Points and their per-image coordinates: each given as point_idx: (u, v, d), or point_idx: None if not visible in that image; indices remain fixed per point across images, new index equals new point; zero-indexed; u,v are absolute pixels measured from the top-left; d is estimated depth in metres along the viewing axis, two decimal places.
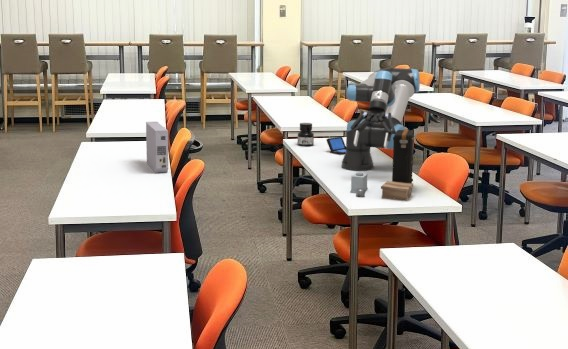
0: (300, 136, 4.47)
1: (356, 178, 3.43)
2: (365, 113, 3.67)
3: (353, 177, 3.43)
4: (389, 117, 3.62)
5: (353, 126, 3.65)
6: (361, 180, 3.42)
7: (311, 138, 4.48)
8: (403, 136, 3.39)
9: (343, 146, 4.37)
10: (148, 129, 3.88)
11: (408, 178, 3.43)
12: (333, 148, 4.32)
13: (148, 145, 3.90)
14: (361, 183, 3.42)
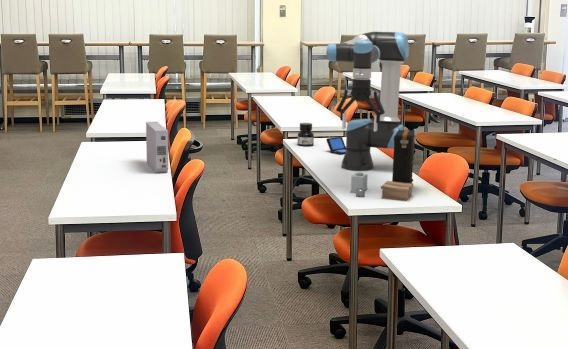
0: (300, 136, 4.47)
1: (356, 178, 3.43)
2: (349, 91, 3.41)
3: (353, 177, 3.43)
4: (375, 97, 3.36)
5: (339, 108, 3.43)
6: (361, 180, 3.42)
7: (311, 138, 4.48)
8: (404, 136, 3.39)
9: (343, 146, 4.37)
10: (148, 129, 3.88)
11: (408, 178, 3.43)
12: (333, 148, 4.32)
13: (148, 145, 3.90)
14: (361, 183, 3.42)
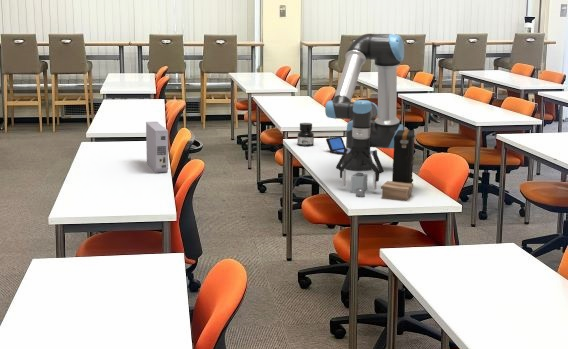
0: (300, 136, 4.47)
1: (356, 178, 3.43)
2: (348, 150, 3.44)
3: (353, 177, 3.43)
4: (374, 156, 3.40)
5: (338, 166, 3.47)
6: (361, 180, 3.42)
7: (311, 138, 4.48)
8: (404, 136, 3.39)
9: (342, 146, 4.37)
10: (148, 129, 3.88)
11: (408, 178, 3.43)
12: (333, 148, 4.32)
13: (148, 145, 3.90)
14: (361, 183, 3.42)
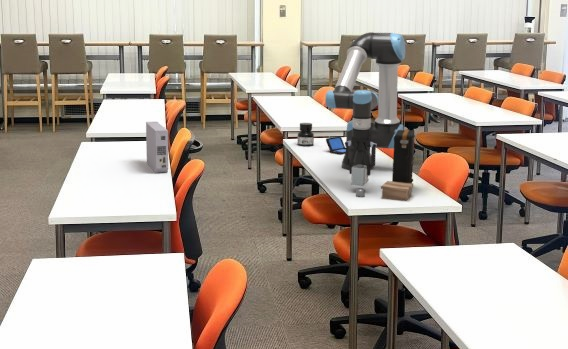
0: (300, 136, 4.47)
1: (357, 170, 3.42)
2: (349, 142, 3.44)
3: (354, 169, 3.43)
4: (372, 149, 3.40)
5: (347, 161, 3.45)
6: (362, 172, 3.42)
7: (311, 138, 4.48)
8: (404, 136, 3.39)
9: (342, 146, 4.38)
10: (148, 129, 3.88)
11: (408, 178, 3.43)
12: (332, 148, 4.32)
13: (148, 145, 3.90)
14: (362, 175, 3.42)
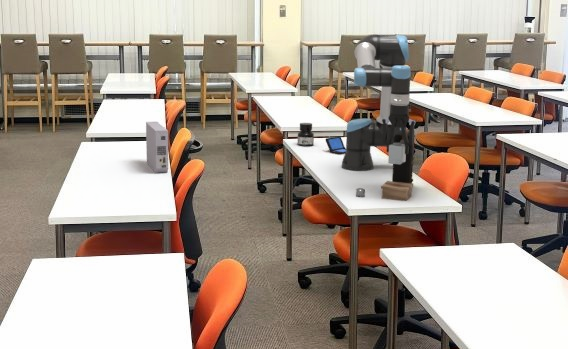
0: (300, 136, 4.47)
1: (394, 148, 3.31)
2: (387, 119, 3.33)
3: (391, 147, 3.31)
4: (411, 126, 3.29)
5: (384, 139, 3.34)
6: (400, 150, 3.30)
7: (311, 138, 4.48)
8: None
9: (342, 146, 4.38)
10: (148, 129, 3.88)
11: (408, 178, 3.43)
12: (332, 148, 4.32)
13: (148, 145, 3.90)
14: (400, 153, 3.31)
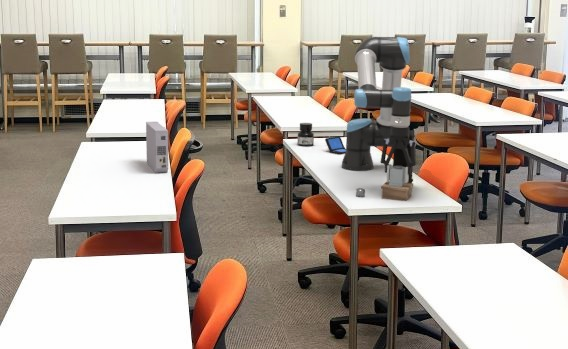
0: (300, 136, 4.47)
1: (395, 171, 3.33)
2: (387, 140, 3.35)
3: (392, 170, 3.33)
4: (412, 147, 3.31)
5: (383, 160, 3.36)
6: (400, 173, 3.32)
7: (311, 138, 4.48)
8: None
9: (341, 146, 4.38)
10: (148, 129, 3.88)
11: None
12: (332, 148, 4.32)
13: (148, 145, 3.90)
14: (400, 176, 3.33)
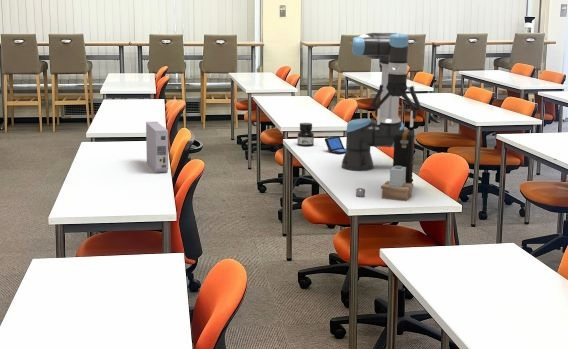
0: (300, 136, 4.47)
1: (395, 171, 3.33)
2: (384, 86, 3.32)
3: (392, 170, 3.33)
4: (411, 92, 3.28)
5: (373, 104, 3.34)
6: (400, 173, 3.32)
7: (311, 138, 4.48)
8: (404, 136, 3.39)
9: (341, 146, 4.38)
10: (148, 129, 3.88)
11: (408, 178, 3.43)
12: (331, 148, 4.32)
13: (148, 145, 3.90)
14: (400, 176, 3.33)
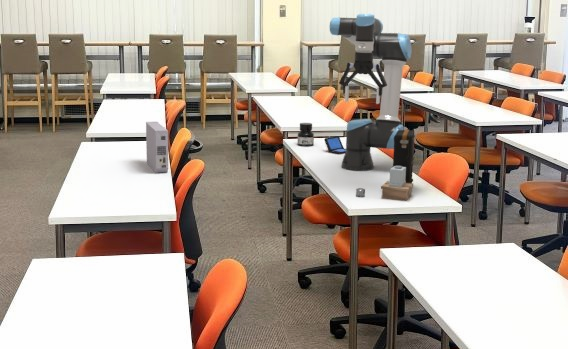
0: (300, 136, 4.47)
1: (395, 171, 3.33)
2: (352, 65, 3.44)
3: (392, 170, 3.33)
4: (377, 70, 3.40)
5: (341, 81, 3.46)
6: (400, 173, 3.32)
7: (311, 138, 4.48)
8: (404, 136, 3.39)
9: (340, 146, 4.38)
10: (148, 129, 3.88)
11: (408, 178, 3.43)
12: (331, 148, 4.33)
13: (148, 145, 3.90)
14: (400, 176, 3.33)
